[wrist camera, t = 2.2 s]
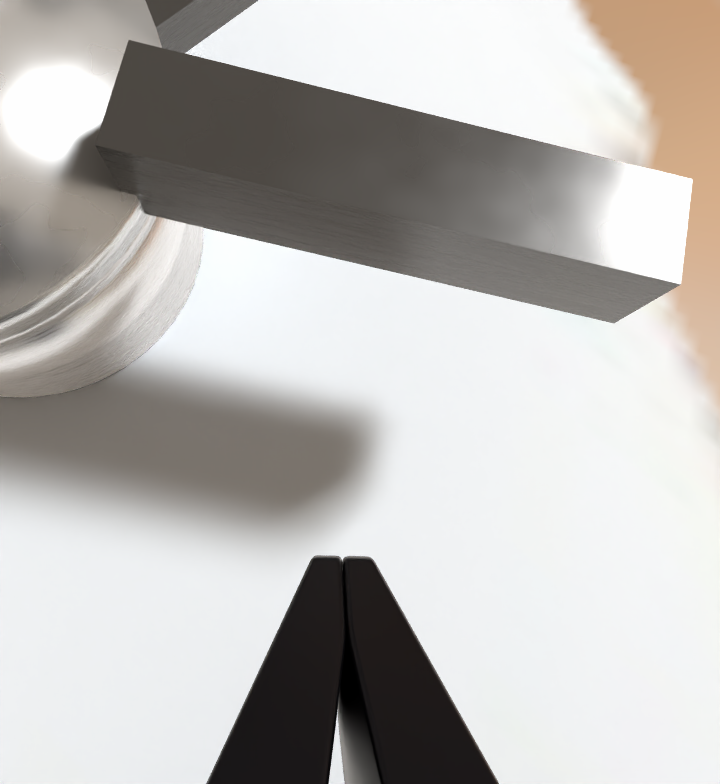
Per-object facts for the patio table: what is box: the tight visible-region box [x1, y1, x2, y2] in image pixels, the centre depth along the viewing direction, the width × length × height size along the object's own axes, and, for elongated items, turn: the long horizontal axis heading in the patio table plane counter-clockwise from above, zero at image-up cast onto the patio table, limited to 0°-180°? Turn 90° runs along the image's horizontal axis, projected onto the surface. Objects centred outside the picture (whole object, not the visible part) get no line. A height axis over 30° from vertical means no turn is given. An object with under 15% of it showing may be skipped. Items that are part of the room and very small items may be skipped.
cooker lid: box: [0, 0, 692, 340], centre depth 15 cm, size 26×13×3 cm, turn 78°
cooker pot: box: [0, 0, 258, 398], centre depth 20 cm, size 22×13×7 cm, turn 133°
